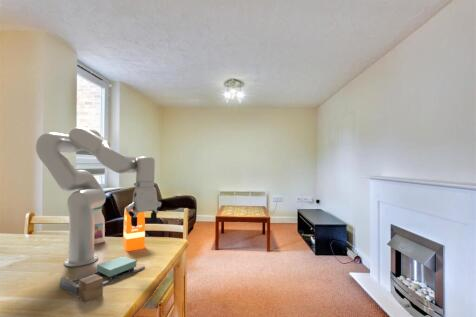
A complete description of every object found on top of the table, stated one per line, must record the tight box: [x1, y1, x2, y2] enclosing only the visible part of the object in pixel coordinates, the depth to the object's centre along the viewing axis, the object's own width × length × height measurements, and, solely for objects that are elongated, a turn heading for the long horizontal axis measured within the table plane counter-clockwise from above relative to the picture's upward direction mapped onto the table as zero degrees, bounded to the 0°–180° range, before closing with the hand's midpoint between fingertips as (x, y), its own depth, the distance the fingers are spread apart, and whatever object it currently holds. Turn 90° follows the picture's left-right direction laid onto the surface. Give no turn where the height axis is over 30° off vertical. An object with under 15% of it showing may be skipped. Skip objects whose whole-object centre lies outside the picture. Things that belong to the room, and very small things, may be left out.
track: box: [59, 266, 146, 297], centre depth 95 cm, size 12×26×3 cm, turn 147°
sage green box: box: [96, 255, 137, 279], centre depth 98 cm, size 9×11×4 cm
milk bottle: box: [92, 205, 106, 245], centre depth 137 cm, size 8×8×20 cm
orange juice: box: [123, 208, 146, 252], centre depth 128 cm, size 8×9×20 cm
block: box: [78, 274, 104, 304], centre depth 80 cm, size 5×5×6 cm
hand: (144, 224), depth 108 cm, fingers open, 9 cm apart
